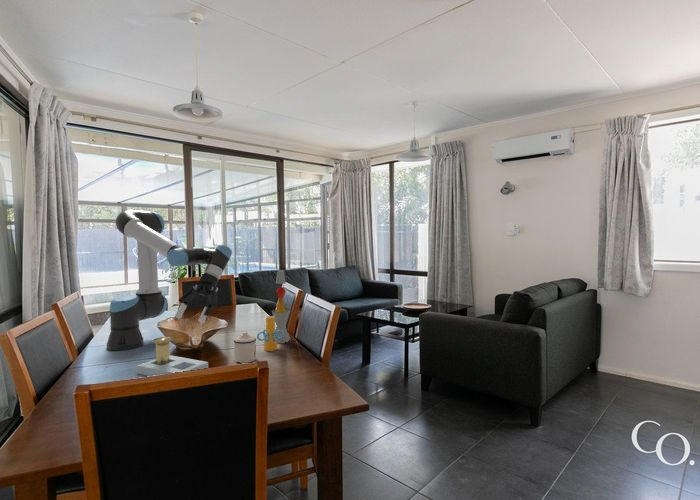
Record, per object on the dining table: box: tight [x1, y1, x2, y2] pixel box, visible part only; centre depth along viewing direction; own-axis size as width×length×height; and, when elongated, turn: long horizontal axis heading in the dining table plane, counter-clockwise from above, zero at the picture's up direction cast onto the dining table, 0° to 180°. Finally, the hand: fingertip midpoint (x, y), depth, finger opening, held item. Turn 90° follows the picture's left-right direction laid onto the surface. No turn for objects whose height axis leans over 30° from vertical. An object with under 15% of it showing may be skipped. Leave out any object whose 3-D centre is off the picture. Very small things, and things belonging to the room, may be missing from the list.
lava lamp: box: [271, 269, 291, 344], centre depth 188 cm, size 9×9×35 cm
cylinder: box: [256, 315, 284, 352], centre depth 174 cm, size 12×10×15 cm
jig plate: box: [136, 355, 209, 377], centre depth 146 cm, size 22×14×3 cm, turn 65°
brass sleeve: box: [153, 336, 172, 366], centre depth 148 cm, size 6×6×12 cm
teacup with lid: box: [233, 331, 257, 364], centre depth 161 cm, size 12×9×12 cm
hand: (188, 320), depth 161 cm, fingers open, 13 cm apart
